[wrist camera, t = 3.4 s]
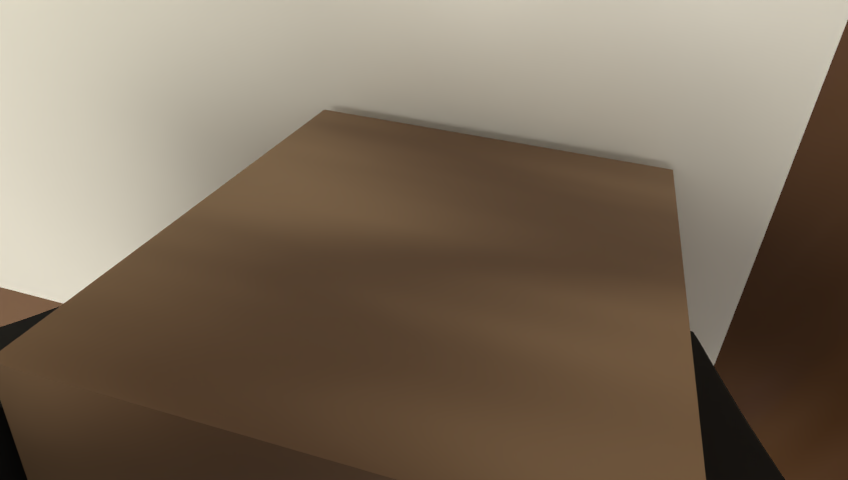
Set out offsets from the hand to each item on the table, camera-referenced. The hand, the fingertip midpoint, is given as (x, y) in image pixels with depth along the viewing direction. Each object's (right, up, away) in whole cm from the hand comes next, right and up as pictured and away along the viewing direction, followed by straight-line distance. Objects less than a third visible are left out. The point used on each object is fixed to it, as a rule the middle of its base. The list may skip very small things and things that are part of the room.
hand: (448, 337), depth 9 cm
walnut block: (0, +1, +1) cm, 1 cm away
